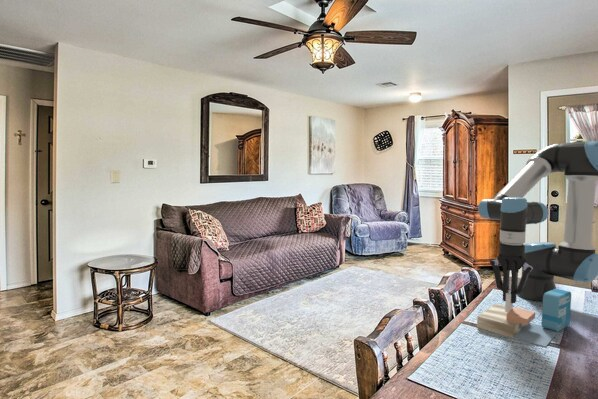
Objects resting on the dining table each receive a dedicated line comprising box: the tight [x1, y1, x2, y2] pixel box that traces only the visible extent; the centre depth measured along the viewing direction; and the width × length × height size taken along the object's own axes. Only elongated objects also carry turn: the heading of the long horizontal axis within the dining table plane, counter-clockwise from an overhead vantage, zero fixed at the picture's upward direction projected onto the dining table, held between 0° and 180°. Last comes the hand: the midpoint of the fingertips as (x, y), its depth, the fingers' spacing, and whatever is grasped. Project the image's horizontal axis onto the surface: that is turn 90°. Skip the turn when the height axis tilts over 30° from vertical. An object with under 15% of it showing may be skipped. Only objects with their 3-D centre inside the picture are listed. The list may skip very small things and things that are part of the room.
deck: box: [476, 303, 525, 339], centre depth 129 cm, size 17×11×4 cm, turn 134°
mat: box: [512, 322, 560, 348], centre depth 122 cm, size 17×9×1 cm, turn 134°
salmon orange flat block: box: [506, 306, 536, 325], centre depth 125 cm, size 9×6×2 cm, turn 134°
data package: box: [541, 288, 572, 333], centre depth 127 cm, size 12×4×12 cm, turn 127°
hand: (508, 311), depth 128 cm, fingers closed
